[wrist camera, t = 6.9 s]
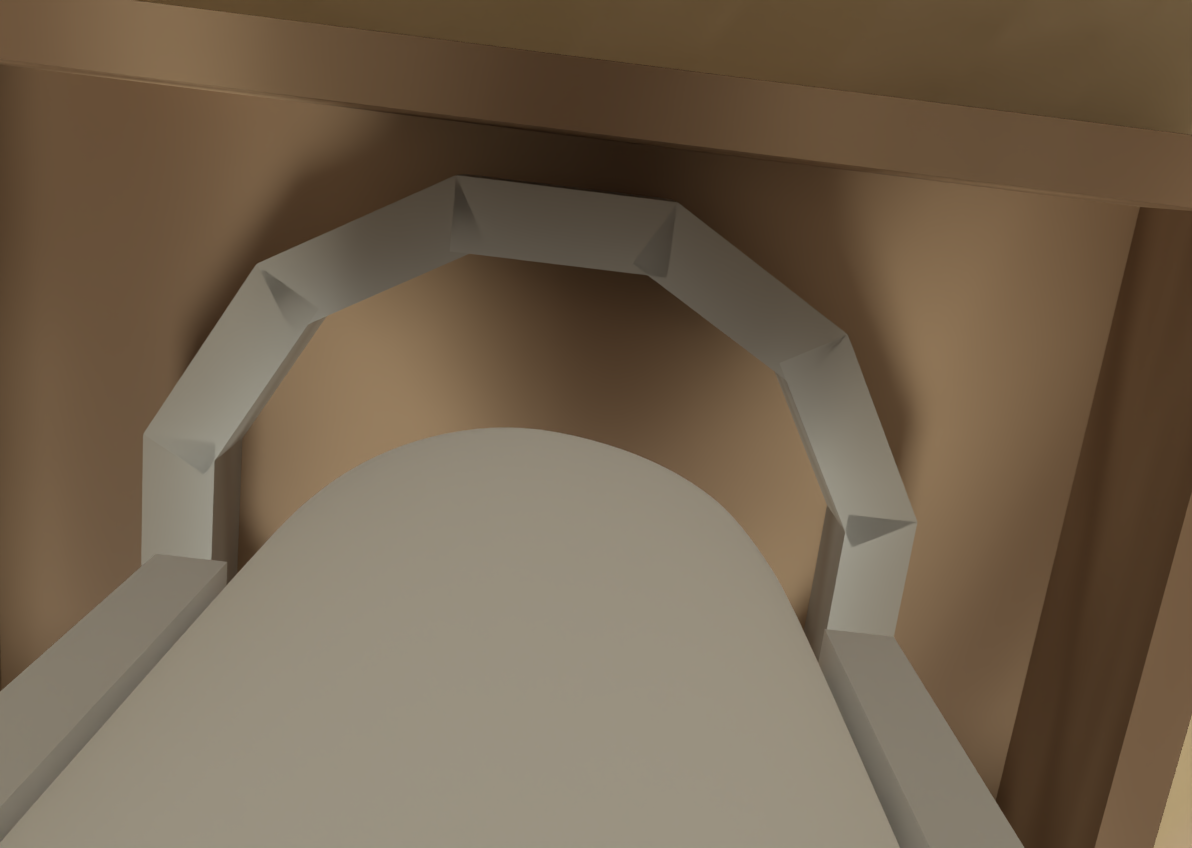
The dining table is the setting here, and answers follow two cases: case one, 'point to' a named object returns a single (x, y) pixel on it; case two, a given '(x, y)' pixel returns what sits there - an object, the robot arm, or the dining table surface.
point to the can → (482, 677)
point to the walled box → (620, 342)
